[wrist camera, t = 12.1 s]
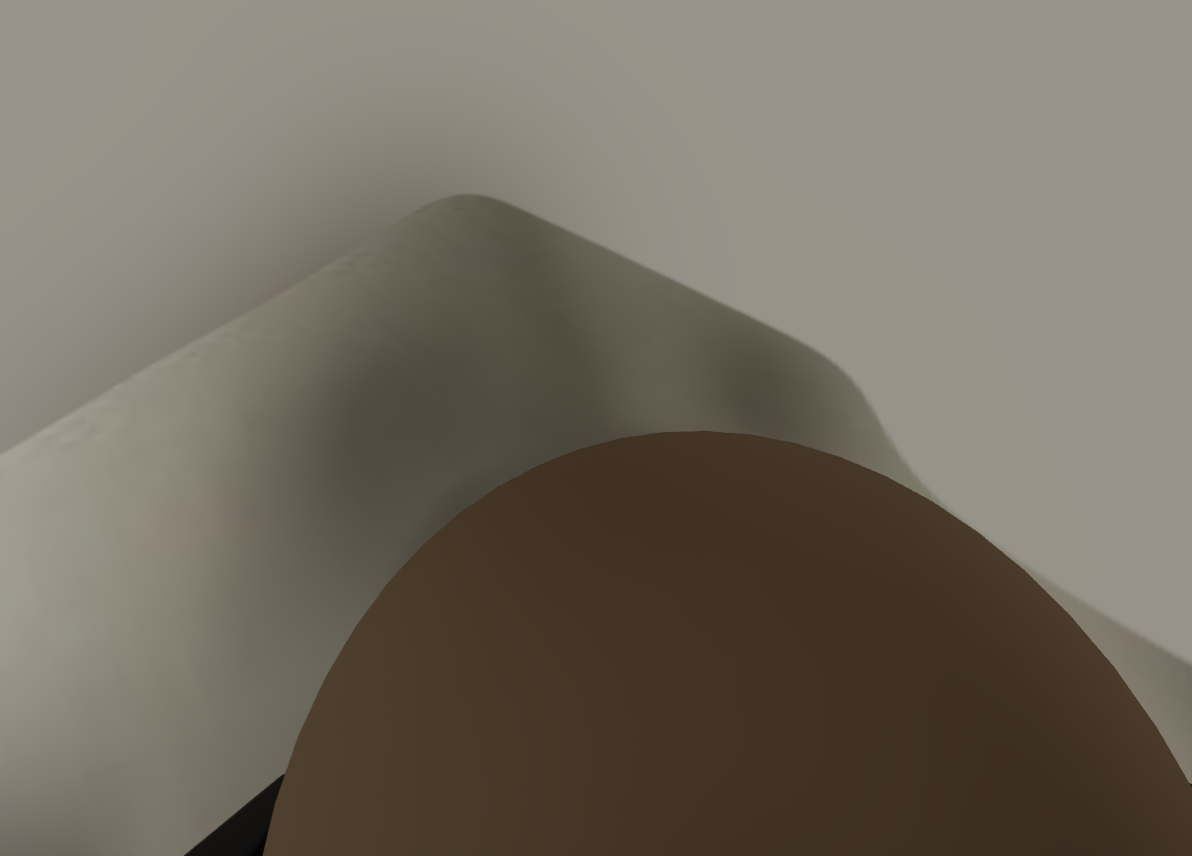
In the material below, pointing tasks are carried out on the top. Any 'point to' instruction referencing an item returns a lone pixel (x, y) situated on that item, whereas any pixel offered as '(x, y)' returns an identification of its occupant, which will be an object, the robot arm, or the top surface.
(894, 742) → the walnut peg
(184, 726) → the top surface
